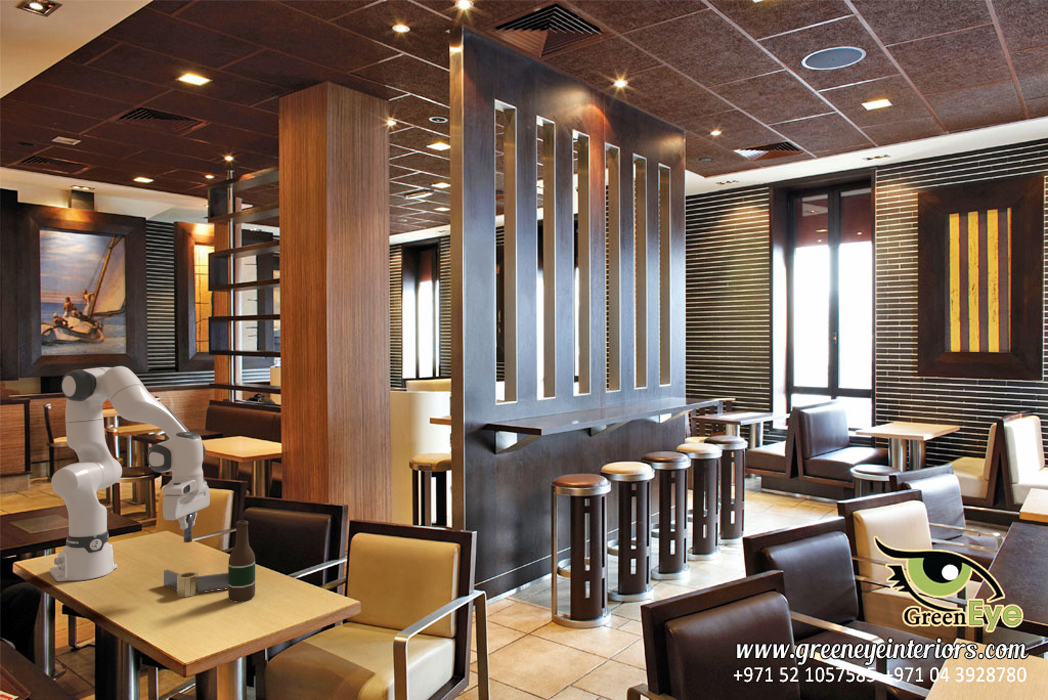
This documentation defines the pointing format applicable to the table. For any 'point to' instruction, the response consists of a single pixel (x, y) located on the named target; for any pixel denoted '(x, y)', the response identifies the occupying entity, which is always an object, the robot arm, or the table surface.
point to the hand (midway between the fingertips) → (187, 527)
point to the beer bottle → (241, 566)
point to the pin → (188, 529)
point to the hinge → (194, 582)
